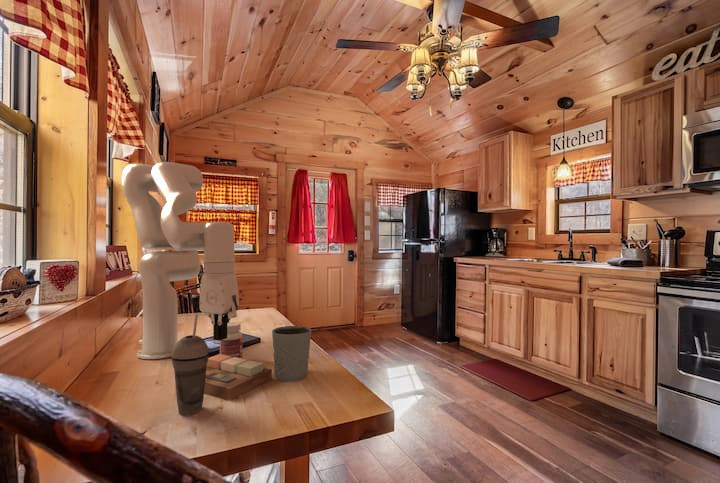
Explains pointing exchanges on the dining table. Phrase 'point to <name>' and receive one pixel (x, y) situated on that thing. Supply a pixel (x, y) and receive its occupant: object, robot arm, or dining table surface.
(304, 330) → the grey green cup
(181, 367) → the beverage cup
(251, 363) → the key sage
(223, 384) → the keypad board
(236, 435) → the dining table surface
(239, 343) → the pill bottle
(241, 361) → the key cream
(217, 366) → the key terracotta
